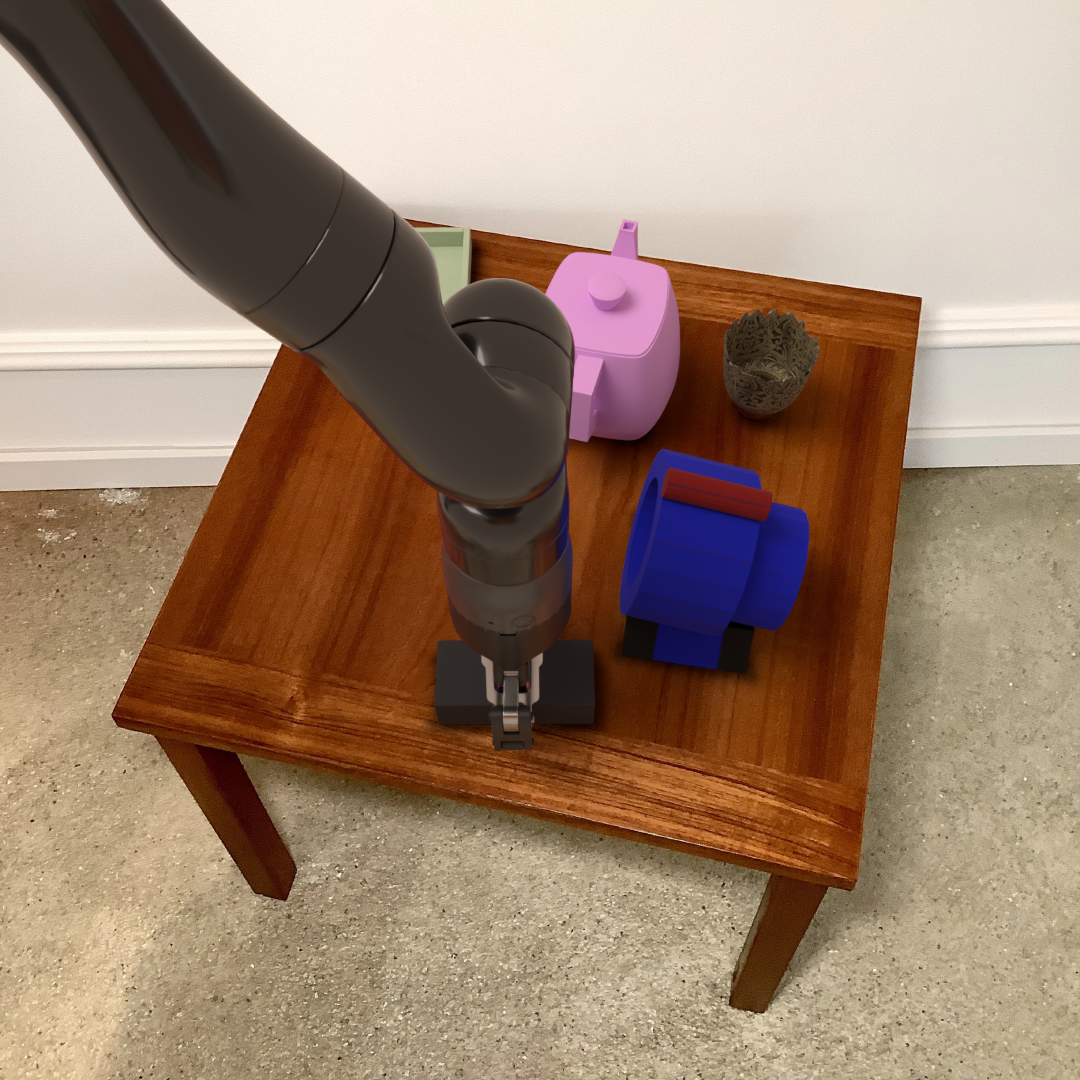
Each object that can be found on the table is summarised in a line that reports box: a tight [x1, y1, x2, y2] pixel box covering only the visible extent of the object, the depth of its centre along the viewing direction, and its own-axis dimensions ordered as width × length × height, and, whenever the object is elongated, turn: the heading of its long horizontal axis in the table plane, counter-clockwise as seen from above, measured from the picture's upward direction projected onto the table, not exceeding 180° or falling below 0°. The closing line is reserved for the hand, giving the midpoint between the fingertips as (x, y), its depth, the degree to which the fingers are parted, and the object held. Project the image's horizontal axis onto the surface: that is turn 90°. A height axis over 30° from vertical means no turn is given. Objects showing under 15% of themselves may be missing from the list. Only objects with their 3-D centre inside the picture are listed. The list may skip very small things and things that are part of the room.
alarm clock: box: [619, 448, 810, 675], centre depth 76 cm, size 12×12×15 cm
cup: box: [722, 308, 821, 421], centre depth 89 cm, size 8×7×8 cm
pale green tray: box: [413, 226, 473, 304], centre depth 98 cm, size 10×15×2 cm, turn 0°
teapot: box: [544, 218, 681, 443], centre depth 88 cm, size 20×12×13 cm, turn 166°
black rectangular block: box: [433, 639, 596, 725], centre depth 77 cm, size 11×5×4 cm, turn 90°
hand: (516, 687), depth 78 cm, fingers open, 7 cm apart
